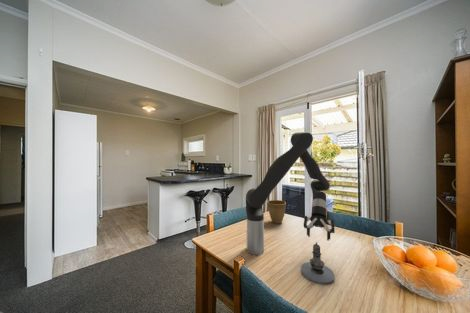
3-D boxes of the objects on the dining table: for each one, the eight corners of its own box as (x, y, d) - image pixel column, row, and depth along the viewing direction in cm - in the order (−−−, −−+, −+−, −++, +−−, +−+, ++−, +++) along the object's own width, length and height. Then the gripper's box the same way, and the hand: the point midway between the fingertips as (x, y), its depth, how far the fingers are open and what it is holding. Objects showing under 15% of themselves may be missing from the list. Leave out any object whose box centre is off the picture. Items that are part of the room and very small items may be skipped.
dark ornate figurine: (317, 276, 71) (317, 246, 71) (306, 268, 76) (306, 240, 77) (327, 272, 73) (327, 244, 74) (316, 265, 79) (316, 238, 79)
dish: (308, 284, 68) (308, 281, 68) (296, 264, 81) (296, 262, 81) (341, 283, 68) (341, 280, 68) (323, 264, 81) (323, 261, 81)
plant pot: (271, 217, 148) (271, 199, 148) (289, 221, 139) (288, 201, 140) (264, 223, 136) (263, 202, 136) (282, 227, 127) (282, 205, 128)
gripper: (304, 203, 97) (302, 231, 86) (333, 206, 90) (334, 237, 79) (305, 210, 101) (303, 238, 91) (333, 214, 94) (334, 244, 84)
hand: (318, 238), depth 85 cm, fingers open, 8 cm apart
